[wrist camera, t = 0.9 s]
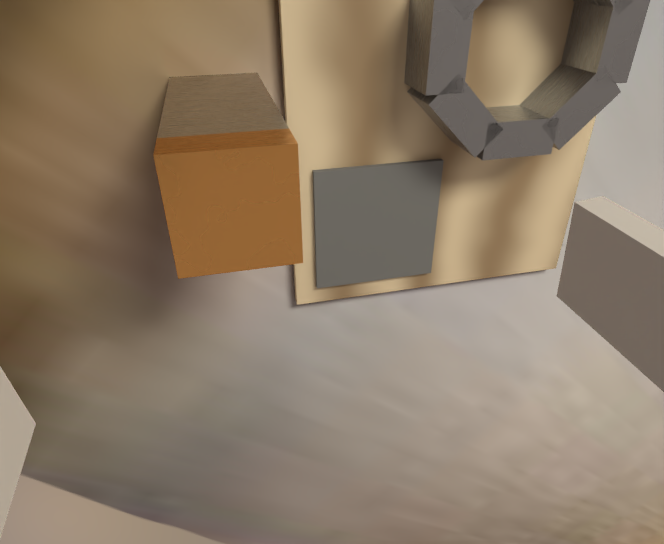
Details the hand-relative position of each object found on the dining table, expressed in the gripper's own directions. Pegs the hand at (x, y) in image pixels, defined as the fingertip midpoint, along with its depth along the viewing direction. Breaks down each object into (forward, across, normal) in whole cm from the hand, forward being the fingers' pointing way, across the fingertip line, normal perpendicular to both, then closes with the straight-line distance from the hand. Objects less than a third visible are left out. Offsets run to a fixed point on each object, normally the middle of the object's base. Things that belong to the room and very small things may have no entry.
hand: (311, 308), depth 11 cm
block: (+22, -1, -1) cm, 23 cm away
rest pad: (+21, +8, -10) cm, 25 cm away
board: (+22, +14, -4) cm, 26 cm away
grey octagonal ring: (+21, +17, +1) cm, 27 cm away
